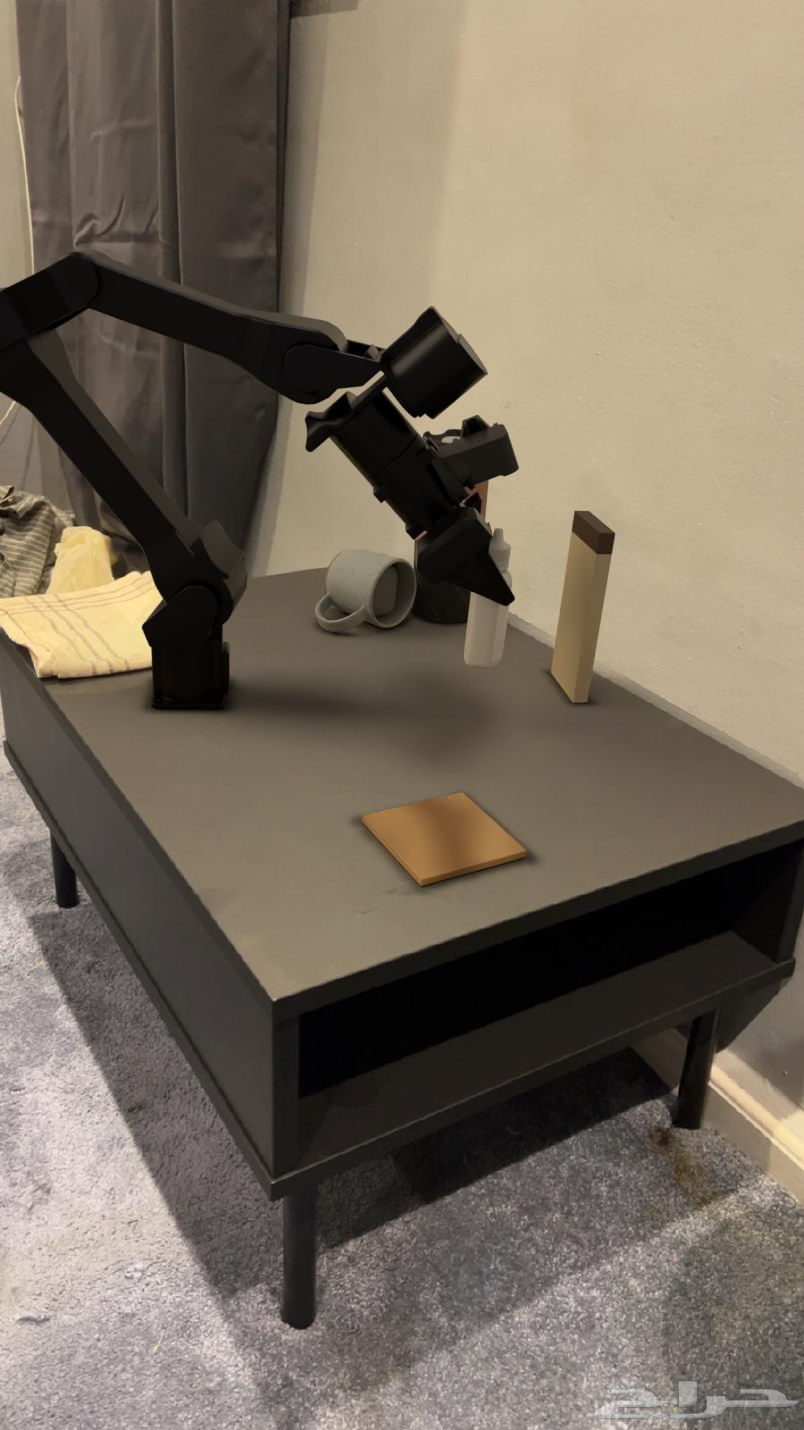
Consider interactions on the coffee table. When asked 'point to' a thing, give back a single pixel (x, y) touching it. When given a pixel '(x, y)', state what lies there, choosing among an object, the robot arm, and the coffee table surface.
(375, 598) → the ceramic mug
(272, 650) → the coffee table surface
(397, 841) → the cork coaster mat
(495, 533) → the eye dropper bottle
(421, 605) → the travel mug
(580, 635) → the tall wooden plank
